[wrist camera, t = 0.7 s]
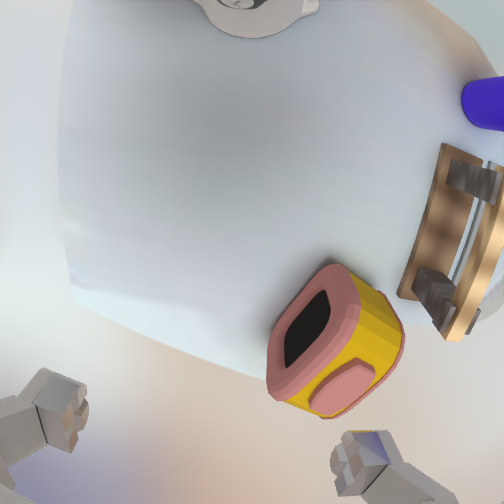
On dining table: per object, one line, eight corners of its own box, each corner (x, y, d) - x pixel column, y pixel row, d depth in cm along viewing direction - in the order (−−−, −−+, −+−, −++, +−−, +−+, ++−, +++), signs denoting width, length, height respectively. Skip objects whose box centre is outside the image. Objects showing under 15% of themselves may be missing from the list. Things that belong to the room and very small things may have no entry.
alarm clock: (331, 248, 47) (363, 319, 29) (382, 283, 49) (426, 358, 31) (264, 331, 54) (259, 418, 36) (314, 357, 55) (325, 442, 37)
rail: (495, 164, 29) (509, 168, 27) (509, 171, 29) (523, 176, 27) (437, 328, 38) (445, 340, 36) (451, 330, 38) (460, 341, 36)
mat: (488, 160, 40) (491, 161, 39) (516, 175, 40) (519, 176, 39) (441, 303, 50) (443, 305, 49) (470, 308, 50) (472, 310, 49)
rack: (441, 143, 40) (495, 153, 27) (478, 159, 40) (533, 174, 27) (396, 293, 49) (427, 343, 37) (432, 299, 50) (467, 346, 37)
